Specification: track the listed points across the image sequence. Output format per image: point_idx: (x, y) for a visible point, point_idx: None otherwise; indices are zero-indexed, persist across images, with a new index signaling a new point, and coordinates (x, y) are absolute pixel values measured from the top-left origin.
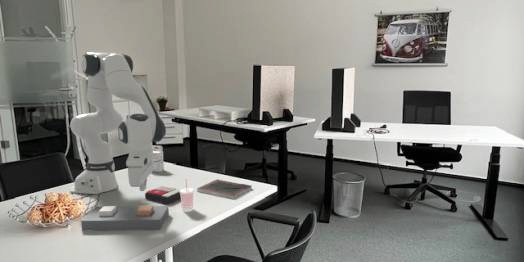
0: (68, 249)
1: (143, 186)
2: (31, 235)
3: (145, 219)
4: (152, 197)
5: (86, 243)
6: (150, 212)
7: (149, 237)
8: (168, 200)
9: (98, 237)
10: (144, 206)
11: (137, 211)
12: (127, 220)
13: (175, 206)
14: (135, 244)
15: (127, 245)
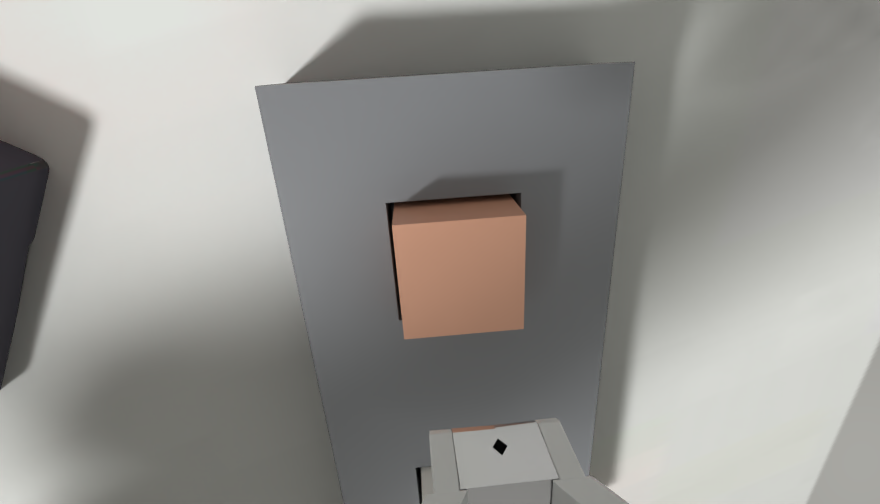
0: (754, 471)
1: (603, 490)
2: None
3: (610, 209)
4: None
5: (710, 432)
6: (506, 207)
7: (717, 112)
8: (7, 168)
9: (651, 410)
10: (424, 301)
11: (520, 321)
12: (603, 339)
13: (69, 72)
14: (799, 176)
15: (797, 222)
